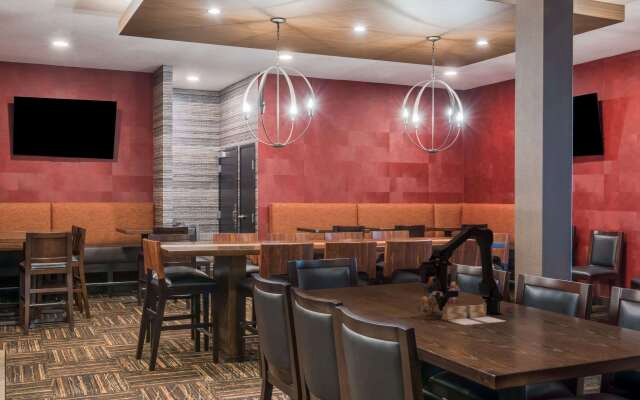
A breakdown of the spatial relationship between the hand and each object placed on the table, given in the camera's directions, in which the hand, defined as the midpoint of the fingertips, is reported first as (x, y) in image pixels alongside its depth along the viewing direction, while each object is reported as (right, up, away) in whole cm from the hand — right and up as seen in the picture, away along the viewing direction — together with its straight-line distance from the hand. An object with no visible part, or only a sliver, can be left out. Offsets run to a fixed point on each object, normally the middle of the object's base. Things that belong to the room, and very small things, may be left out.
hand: (441, 310), depth 309 cm
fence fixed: (+16, -3, +1) cm, 17 cm away
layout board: (+13, -3, -5) cm, 14 cm away
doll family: (+8, -3, +48) cm, 49 cm away
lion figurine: (-2, -3, +18) cm, 18 cm away
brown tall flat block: (+6, -3, -3) cm, 7 cm away
